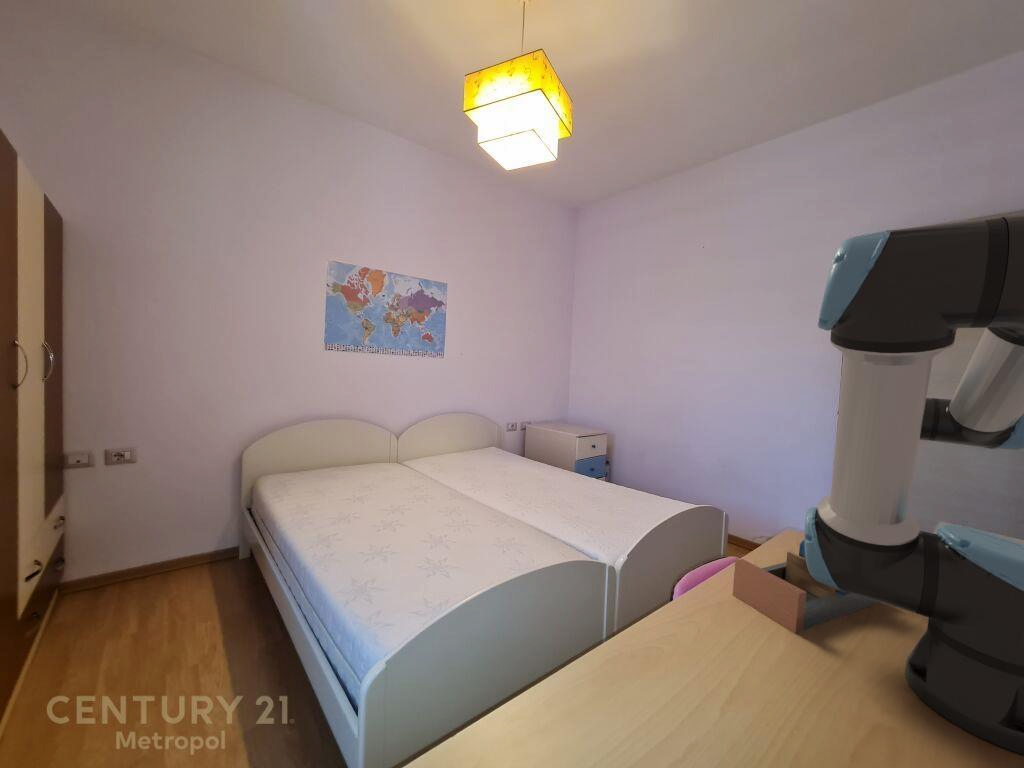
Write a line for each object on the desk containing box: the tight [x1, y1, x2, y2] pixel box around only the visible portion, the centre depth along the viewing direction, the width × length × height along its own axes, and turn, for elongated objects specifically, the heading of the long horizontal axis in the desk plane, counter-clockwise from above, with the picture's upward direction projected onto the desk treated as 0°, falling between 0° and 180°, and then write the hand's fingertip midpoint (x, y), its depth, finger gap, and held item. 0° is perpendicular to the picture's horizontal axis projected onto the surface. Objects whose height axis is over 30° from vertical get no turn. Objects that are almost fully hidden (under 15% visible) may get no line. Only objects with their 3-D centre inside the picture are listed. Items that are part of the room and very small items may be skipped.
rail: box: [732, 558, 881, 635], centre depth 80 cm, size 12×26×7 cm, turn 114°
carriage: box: [785, 551, 839, 598], centre depth 83 cm, size 9×12×6 cm
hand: (856, 566), depth 87 cm, fingers closed
